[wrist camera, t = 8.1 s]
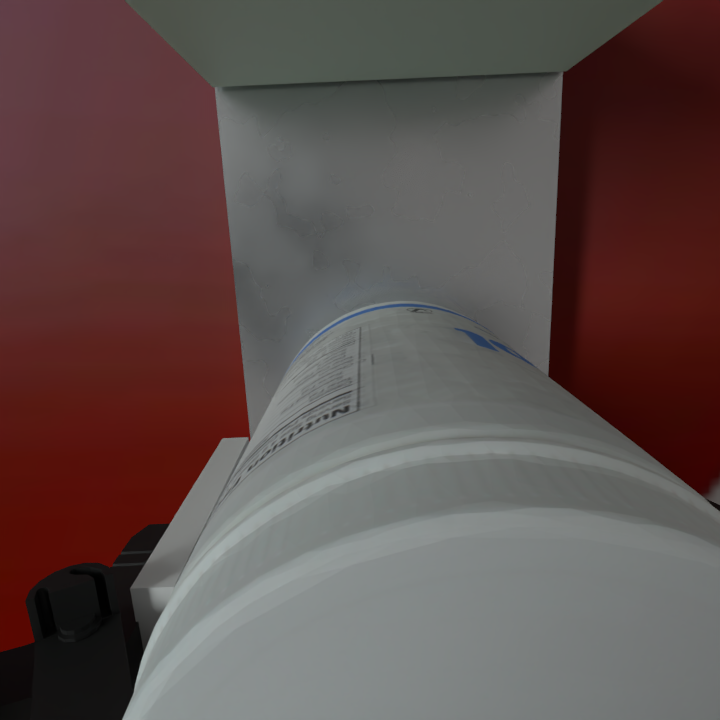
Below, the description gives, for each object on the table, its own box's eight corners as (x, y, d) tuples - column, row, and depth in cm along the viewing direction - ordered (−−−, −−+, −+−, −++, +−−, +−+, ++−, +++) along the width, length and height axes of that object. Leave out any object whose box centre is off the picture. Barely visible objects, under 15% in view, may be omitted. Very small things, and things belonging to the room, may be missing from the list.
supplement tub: (574, 394, 20) (1129, 818, 6) (420, 569, 22) (551, 1221, 8) (371, 240, 18) (438, 291, 4) (224, 442, 20) (-80, 960, 6)
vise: (216, -18, 19) (39, -333, 8) (547, -33, 19) (795, -367, 8) (276, 595, 25) (220, 862, 15) (522, 584, 25) (644, 843, 15)
